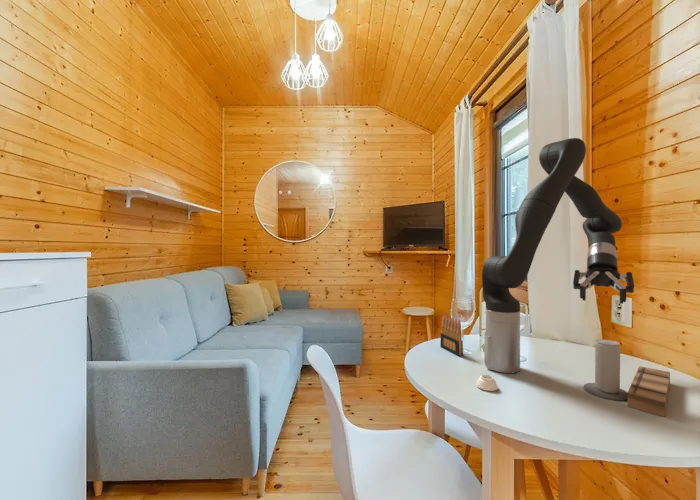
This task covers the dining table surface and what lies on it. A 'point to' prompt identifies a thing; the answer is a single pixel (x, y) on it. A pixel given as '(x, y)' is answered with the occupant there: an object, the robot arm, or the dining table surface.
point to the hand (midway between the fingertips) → (602, 300)
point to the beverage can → (607, 366)
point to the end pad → (620, 396)
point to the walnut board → (649, 390)
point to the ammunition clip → (451, 336)
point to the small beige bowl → (487, 383)
